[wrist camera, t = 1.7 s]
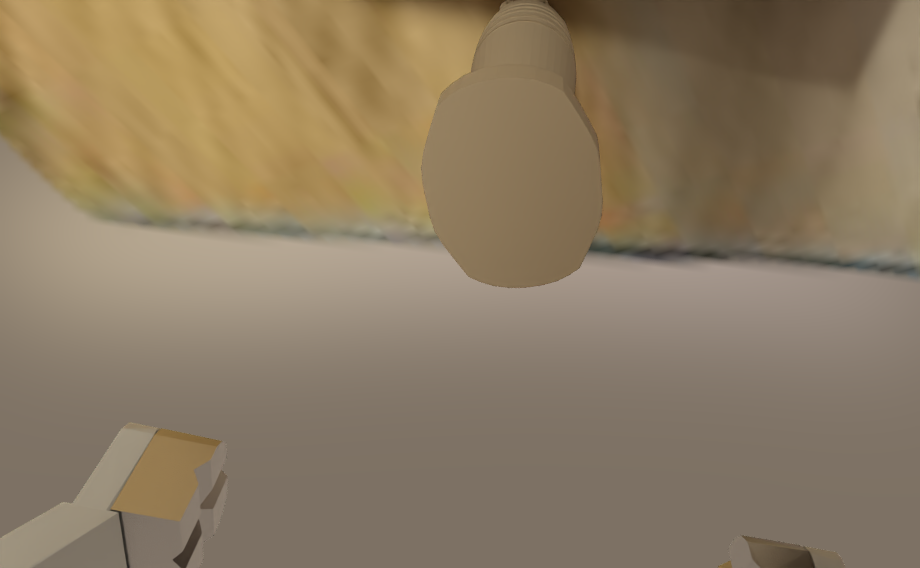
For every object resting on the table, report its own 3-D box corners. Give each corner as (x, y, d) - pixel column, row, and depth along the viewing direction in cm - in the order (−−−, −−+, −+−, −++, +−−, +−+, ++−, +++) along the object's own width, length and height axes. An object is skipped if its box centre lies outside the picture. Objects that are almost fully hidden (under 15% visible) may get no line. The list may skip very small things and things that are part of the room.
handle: (483, 105, 36) (446, 293, 23) (461, -41, 32) (403, 89, 20) (589, 93, 35) (607, 281, 22) (578, -59, 31) (593, 66, 19)
